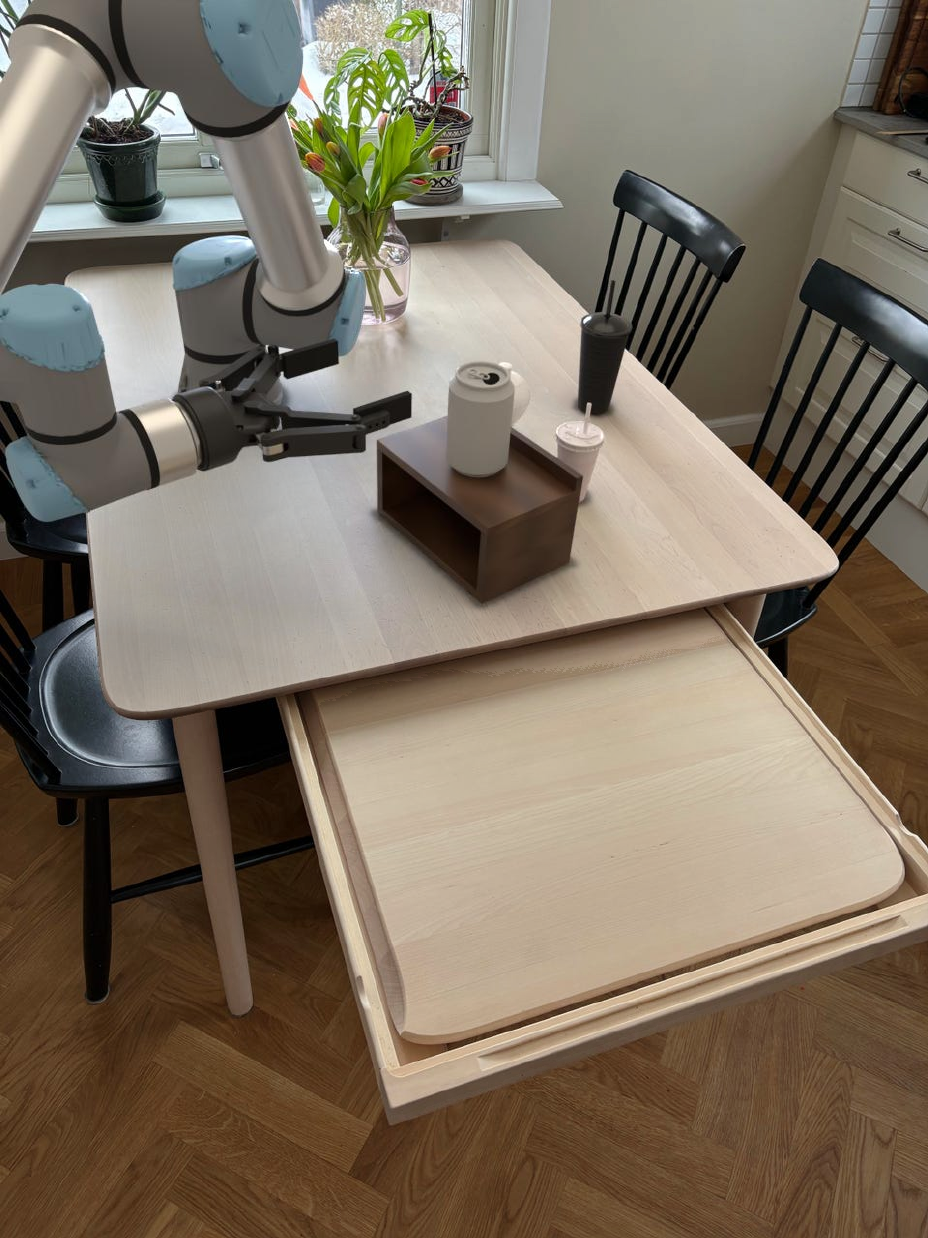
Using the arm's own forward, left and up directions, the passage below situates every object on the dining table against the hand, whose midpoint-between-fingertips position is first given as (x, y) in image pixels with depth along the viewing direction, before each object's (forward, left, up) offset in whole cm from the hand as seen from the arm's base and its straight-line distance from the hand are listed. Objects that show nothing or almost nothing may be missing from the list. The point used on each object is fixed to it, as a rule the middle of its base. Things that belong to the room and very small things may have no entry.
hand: (372, 376), depth 101 cm
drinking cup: (-48, +18, -25) cm, 57 cm away
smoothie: (-23, +20, -25) cm, 40 cm away
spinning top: (-33, +7, -25) cm, 42 cm away
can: (-9, +10, -14) cm, 20 cm away
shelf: (-9, +10, -25) cm, 28 cm away
